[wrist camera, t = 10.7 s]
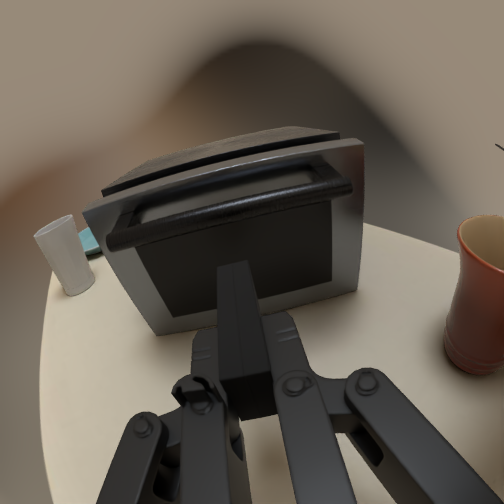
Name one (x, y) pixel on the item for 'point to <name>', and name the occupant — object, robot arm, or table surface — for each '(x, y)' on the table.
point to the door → (237, 232)
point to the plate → (89, 242)
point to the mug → (478, 298)
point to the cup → (66, 255)
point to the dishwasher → (219, 154)
